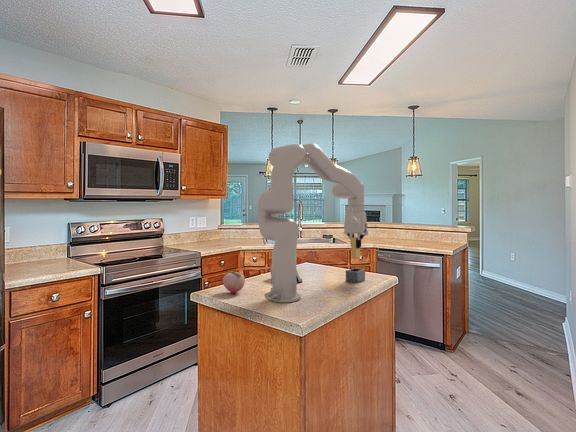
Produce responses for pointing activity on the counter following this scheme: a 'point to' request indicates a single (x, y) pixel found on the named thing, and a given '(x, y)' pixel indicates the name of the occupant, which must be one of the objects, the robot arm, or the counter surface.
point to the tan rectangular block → (354, 248)
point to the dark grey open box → (355, 275)
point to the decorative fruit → (233, 281)
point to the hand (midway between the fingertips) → (355, 247)
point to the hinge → (297, 275)
